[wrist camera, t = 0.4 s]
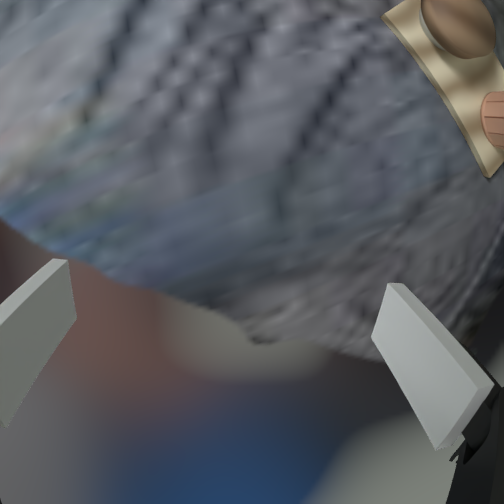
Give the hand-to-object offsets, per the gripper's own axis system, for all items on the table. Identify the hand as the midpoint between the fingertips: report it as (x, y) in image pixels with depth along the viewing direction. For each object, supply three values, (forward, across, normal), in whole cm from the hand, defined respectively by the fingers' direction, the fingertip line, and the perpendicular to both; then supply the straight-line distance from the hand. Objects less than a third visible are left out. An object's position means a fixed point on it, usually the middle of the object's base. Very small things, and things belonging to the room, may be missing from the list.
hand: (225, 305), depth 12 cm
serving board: (+27, +32, +22) cm, 48 cm away
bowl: (+26, +38, +17) cm, 49 cm away
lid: (+23, +26, +28) cm, 44 cm away
